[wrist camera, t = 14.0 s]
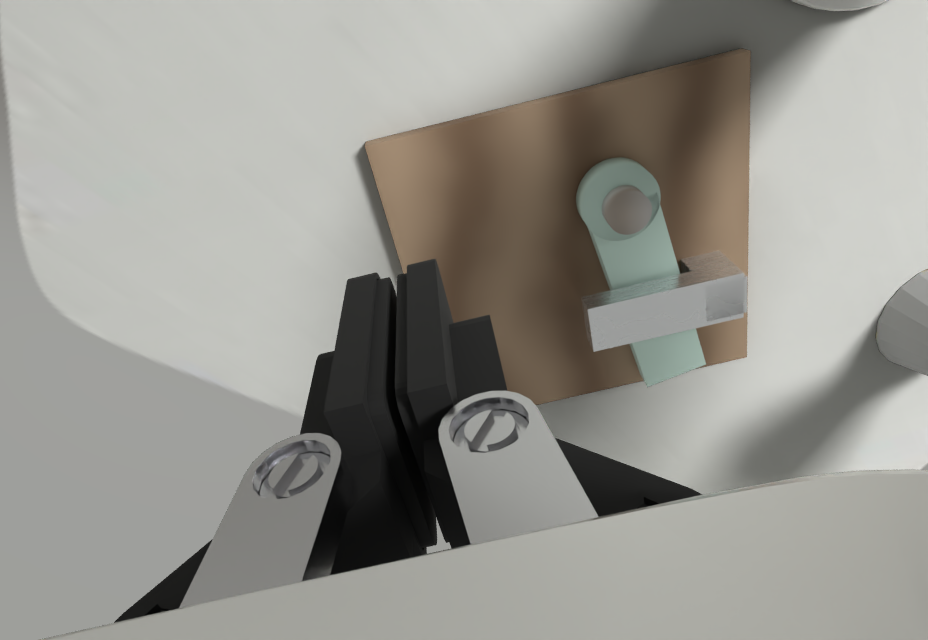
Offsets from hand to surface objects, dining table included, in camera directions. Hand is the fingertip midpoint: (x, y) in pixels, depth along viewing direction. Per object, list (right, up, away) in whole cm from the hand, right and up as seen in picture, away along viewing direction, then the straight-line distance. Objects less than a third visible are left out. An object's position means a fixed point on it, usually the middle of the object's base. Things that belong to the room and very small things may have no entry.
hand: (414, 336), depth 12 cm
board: (+8, +4, +27) cm, 29 cm away
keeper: (+12, +3, +28) cm, 31 cm away
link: (+12, +3, +27) cm, 29 cm away
